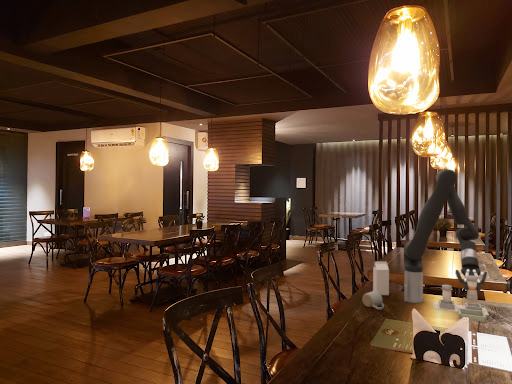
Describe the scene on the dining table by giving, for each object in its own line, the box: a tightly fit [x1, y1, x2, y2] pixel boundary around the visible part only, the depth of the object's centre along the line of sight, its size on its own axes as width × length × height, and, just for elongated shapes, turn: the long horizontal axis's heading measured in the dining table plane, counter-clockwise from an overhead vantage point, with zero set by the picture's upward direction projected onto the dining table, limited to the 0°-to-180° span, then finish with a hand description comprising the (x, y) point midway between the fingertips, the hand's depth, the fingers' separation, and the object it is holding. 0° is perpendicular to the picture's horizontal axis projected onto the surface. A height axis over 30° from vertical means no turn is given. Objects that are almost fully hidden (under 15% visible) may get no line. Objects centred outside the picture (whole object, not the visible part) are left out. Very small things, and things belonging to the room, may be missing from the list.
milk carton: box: [372, 261, 390, 296], centre depth 222 cm, size 7×7×19 cm
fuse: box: [441, 284, 453, 304], centre depth 194 cm, size 4×4×11 cm
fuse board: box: [433, 299, 490, 316], centre depth 192 cm, size 24×12×4 cm, turn 66°
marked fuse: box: [466, 275, 478, 301], centre depth 179 cm, size 4×4×11 cm
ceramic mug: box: [361, 290, 385, 311], centre depth 198 cm, size 11×8×8 cm
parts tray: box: [457, 308, 487, 323], centre depth 179 cm, size 11×10×3 cm
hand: (472, 290), depth 177 cm, fingers closed on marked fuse, 4 cm apart
